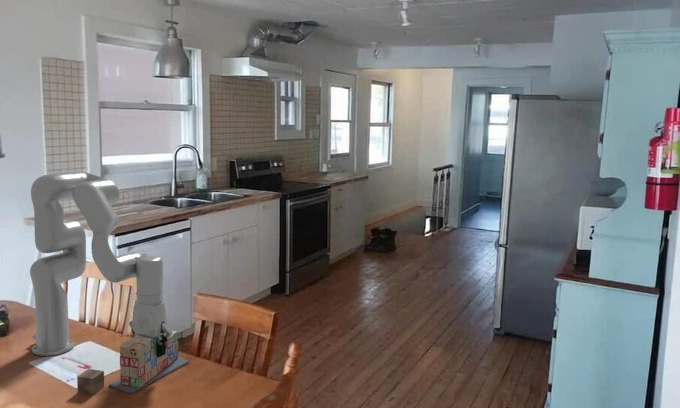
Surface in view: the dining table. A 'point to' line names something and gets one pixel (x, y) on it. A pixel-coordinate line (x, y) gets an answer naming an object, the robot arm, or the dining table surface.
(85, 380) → the walnut cube
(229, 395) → the dining table surface
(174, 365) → the mat
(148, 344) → the stack of blocks
